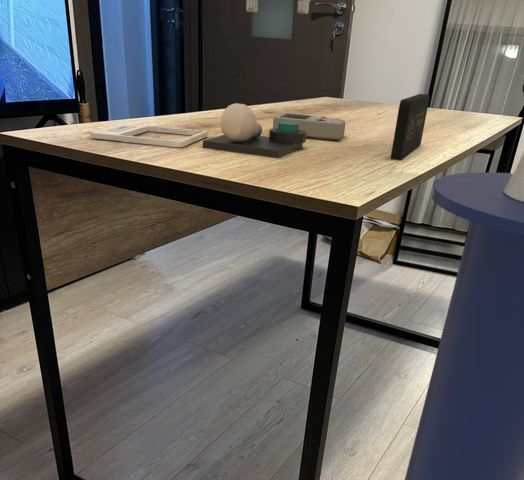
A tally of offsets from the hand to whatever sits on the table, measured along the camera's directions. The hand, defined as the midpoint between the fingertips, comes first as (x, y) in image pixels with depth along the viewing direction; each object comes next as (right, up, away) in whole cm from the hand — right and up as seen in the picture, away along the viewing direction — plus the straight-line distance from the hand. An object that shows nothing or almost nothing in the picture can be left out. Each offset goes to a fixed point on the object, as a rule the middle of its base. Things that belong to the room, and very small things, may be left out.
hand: (276, 12), depth 93 cm
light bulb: (-6, -19, +8) cm, 22 cm away
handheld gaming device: (+8, -11, +25) cm, 29 cm away
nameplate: (+26, -19, +14) cm, 35 cm away
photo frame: (-24, -17, +12) cm, 32 cm away
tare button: (+2, -17, +9) cm, 20 cm away
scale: (-4, -20, +9) cm, 22 cm away
